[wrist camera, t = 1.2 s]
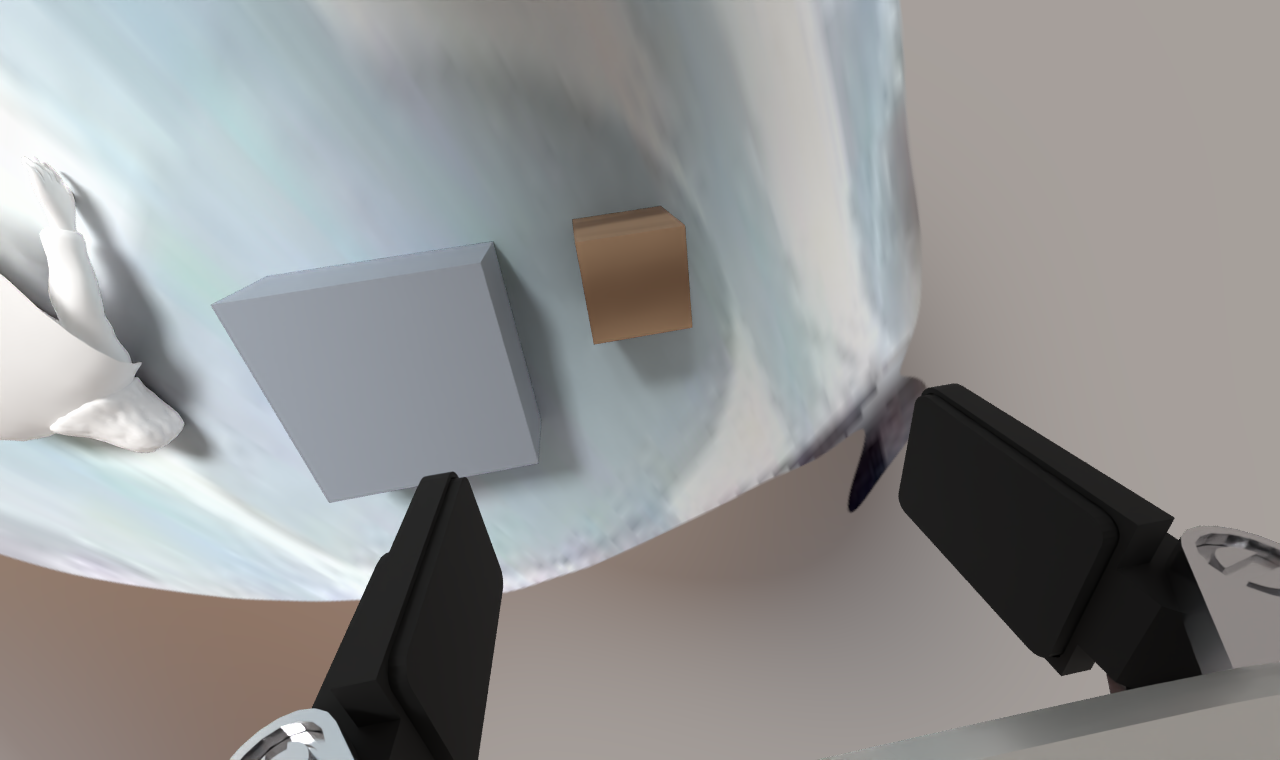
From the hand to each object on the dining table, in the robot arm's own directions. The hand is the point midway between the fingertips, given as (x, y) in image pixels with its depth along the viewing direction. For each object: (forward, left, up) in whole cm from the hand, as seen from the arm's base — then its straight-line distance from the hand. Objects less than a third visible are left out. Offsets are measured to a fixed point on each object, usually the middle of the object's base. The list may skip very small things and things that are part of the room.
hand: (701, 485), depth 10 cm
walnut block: (0, +1, -20) cm, 20 cm away
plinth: (+4, -12, -20) cm, 24 cm away
